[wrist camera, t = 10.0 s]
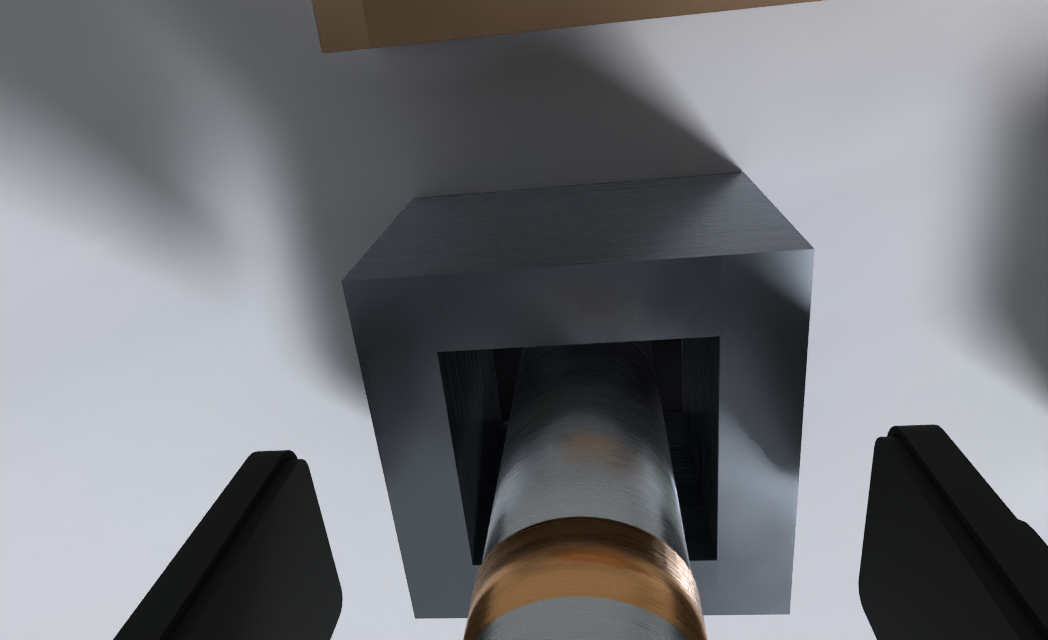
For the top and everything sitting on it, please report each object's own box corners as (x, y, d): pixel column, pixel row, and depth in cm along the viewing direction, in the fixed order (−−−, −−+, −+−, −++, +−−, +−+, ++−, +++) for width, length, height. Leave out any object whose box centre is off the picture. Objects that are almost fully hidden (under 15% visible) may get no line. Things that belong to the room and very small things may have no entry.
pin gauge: (517, 279, 16) (426, 648, 7) (648, 271, 16) (729, 647, 7) (530, 390, 17) (465, 830, 8) (651, 385, 17) (723, 837, 8)
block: (413, 198, 15) (341, 280, 11) (743, 171, 15) (814, 249, 10) (457, 464, 18) (415, 618, 14) (736, 454, 17) (789, 614, 13)
